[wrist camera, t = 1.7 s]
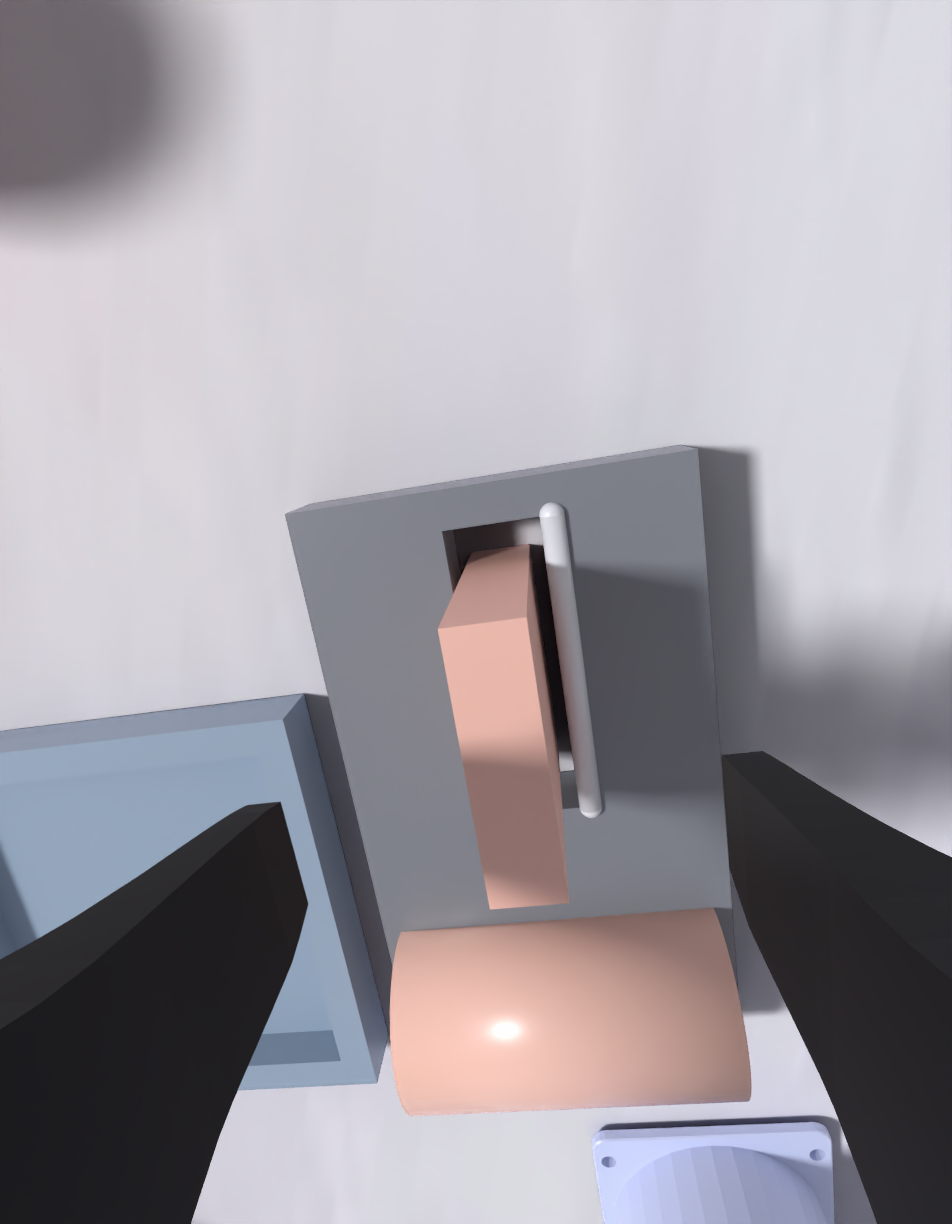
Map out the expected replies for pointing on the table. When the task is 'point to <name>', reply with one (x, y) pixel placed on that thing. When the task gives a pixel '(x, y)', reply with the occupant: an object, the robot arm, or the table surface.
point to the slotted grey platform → (591, 795)
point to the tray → (169, 818)
